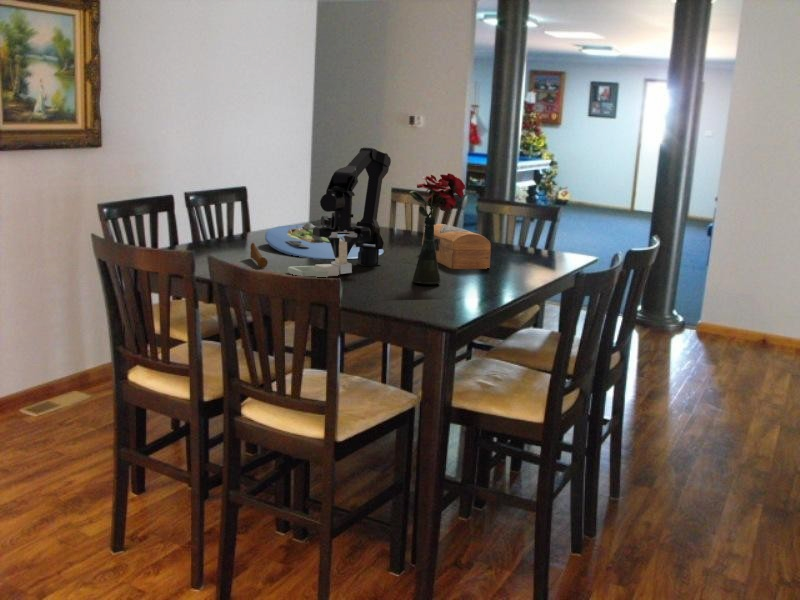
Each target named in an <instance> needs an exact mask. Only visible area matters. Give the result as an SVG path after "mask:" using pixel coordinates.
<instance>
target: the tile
mask: <svg viewBox="0 0 800 600" xmlns="http://www.w3.org/2000/svg"><path fill="white" fill-rule="evenodd" d="M314 266H315V268H314V271H328V277H333V276H334V277H335V276H336V277H337V276H338V275H339V276H340V273H339V268H340V267H338V266H335V265H333V264H331V263H323V264H321V263H319V264H314ZM339 276H338V277H339Z"/></svg>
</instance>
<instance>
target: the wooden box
mask: <svg viewBox="0 0 800 600" xmlns="http://www.w3.org/2000/svg"><path fill="white" fill-rule="evenodd" d="M424 234H425V231H423V235H422V240H421V241H422V242H421V246H422V245H423V240H424ZM434 244H435V251H436V259H437V263H439V264H441V265H443V266H445V267H447V268H449V269H451V270H482V269H483V270H488V269H487V268H489V269H490V268H491V267H490V266H491V256H492V255H491V252H492V244H491V242H490V240H489V239H488V238H487V237H485V236H483V235H481V234H479V233H475V232H472V231H470V230H468V229H464V228H461V227H457V226H453V225H449V224H444V223H437V224H436V223H435V224H434Z"/></svg>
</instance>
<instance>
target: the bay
mask: <svg viewBox="0 0 800 600" xmlns="http://www.w3.org/2000/svg"><path fill="white" fill-rule="evenodd" d="M287 273H288V274H290V275H292V274H293V276H295V275H301V276H316V277H326V278H329V276H328V271H315V265H303V266H302V265H301V266H300V265H299V266H294V265H293V266H288V267H287Z"/></svg>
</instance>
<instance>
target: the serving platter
mask: <svg viewBox="0 0 800 600" xmlns="http://www.w3.org/2000/svg"><path fill="white" fill-rule="evenodd" d="M314 227H318V225H313V224H312V222H309V223H305V224H304V225H299V224H297V225H296V224H294V225H293V224H292V225H281V226H280V225H279V226H275V227H273V228H272V227H271V228H270V229H268V230H267V231H266V232H265V234H264V238H265V239H264V240H265V241H266V243H267V244H268V246H270V247H271V248H273V249H274V250H276V251H278V252H280V253H283V254H285V255H288V256H291V255H293V256H292V257H295V256H299V257H306V258H305V259H309V258H313V259H312V260H320V259H335V256H334V253H333V249H332V246H331V244H330V241H329V240H328V239H327V238H325V237H318V236H315V235H313V229H314ZM320 227H326V226H321V225H320ZM344 236H346V234H337V237H338V238H340V240H339V241H345V239H344ZM366 245H370V244H366ZM359 248H360V247H356V244H355V243H354V245H353V246H352V248H351V250H350V252H349V254H348V256H347V259H352V260H358V252H359ZM384 252H385V251H384V249H383V248H382V249H379V256H382V255H383V254H384ZM299 257H298V258H299Z"/></svg>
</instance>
